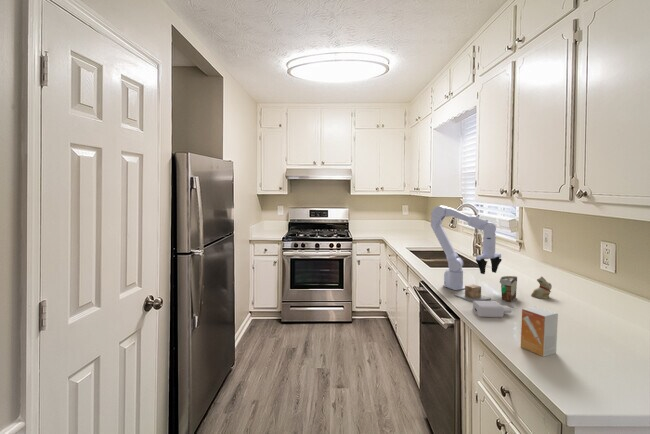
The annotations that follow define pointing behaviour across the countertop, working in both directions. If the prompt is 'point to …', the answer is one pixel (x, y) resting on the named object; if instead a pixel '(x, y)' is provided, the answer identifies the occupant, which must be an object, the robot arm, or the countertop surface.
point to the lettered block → (472, 291)
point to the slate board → (472, 298)
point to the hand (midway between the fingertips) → (488, 273)
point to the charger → (490, 309)
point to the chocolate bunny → (542, 289)
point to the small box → (539, 331)
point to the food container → (508, 288)
